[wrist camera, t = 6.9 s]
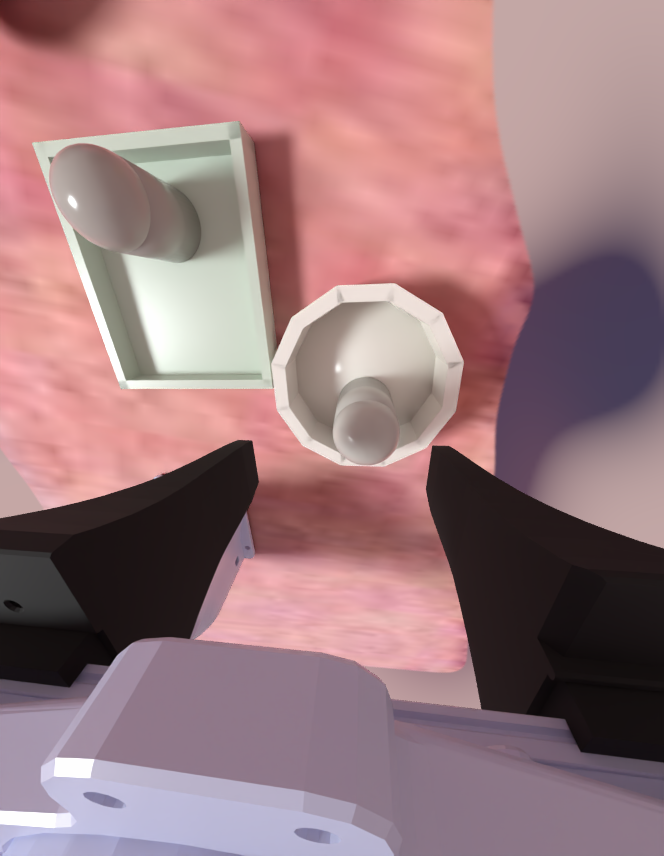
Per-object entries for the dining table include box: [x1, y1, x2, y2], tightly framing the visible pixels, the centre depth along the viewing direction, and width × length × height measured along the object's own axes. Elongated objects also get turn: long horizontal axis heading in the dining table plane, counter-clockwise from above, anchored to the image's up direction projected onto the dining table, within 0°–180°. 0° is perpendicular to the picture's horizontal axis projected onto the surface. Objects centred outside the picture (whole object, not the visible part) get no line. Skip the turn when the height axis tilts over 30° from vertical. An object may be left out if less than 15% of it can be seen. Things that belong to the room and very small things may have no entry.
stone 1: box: [49, 143, 201, 263], centre depth 14 cm, size 4×4×6 cm
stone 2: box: [333, 377, 400, 465], centre depth 17 cm, size 4×4×6 cm
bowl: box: [271, 283, 464, 467], centre depth 18 cm, size 11×11×4 cm
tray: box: [32, 121, 277, 389], centre depth 17 cm, size 13×11×2 cm
